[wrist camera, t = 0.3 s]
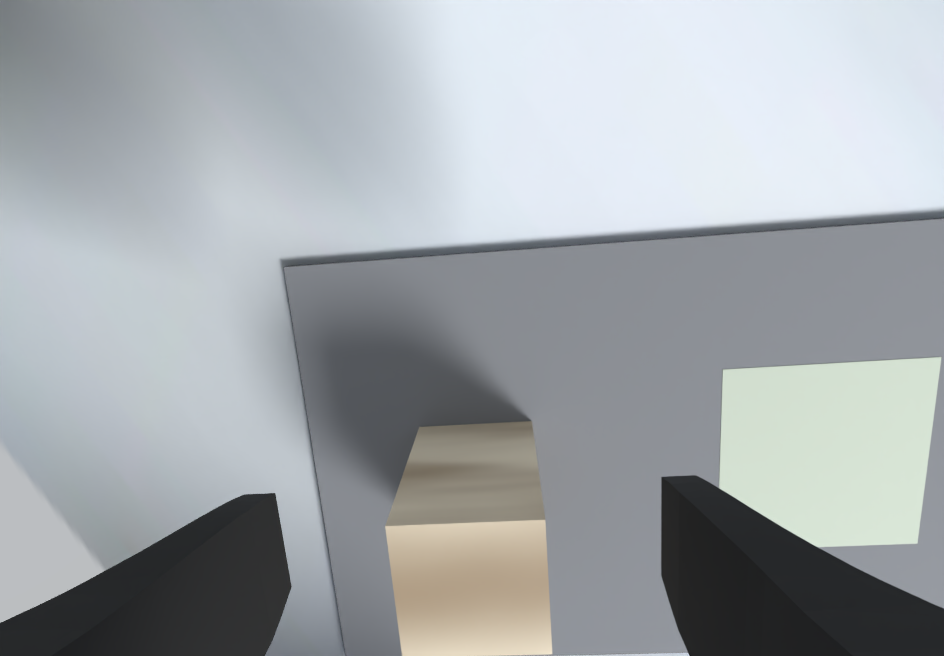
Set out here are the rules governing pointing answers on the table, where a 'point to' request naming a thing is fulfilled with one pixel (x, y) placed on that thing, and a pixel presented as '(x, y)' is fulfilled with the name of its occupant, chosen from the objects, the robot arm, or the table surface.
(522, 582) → the birch block
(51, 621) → the robot arm
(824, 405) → the mat
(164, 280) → the table surface
